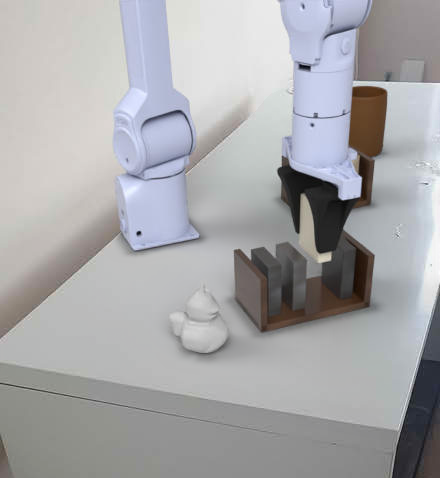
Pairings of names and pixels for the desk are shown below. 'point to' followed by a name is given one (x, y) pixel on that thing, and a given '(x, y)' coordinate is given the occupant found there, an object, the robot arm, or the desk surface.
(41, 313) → the desk surface
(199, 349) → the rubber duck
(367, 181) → the brown wooden book rack
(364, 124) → the mug
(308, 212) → the white book
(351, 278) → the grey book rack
